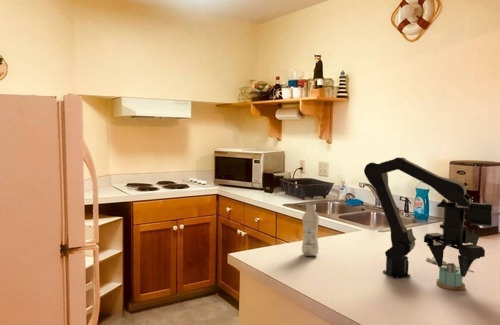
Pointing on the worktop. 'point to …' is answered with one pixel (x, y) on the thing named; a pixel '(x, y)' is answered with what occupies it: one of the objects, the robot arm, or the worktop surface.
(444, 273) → the ring
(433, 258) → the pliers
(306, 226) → the plastic bottle
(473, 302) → the worktop surface
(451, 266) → the post stand
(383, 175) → the robot arm
